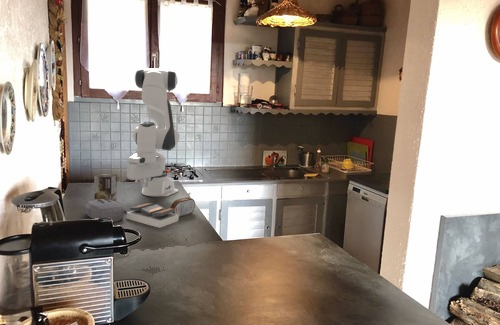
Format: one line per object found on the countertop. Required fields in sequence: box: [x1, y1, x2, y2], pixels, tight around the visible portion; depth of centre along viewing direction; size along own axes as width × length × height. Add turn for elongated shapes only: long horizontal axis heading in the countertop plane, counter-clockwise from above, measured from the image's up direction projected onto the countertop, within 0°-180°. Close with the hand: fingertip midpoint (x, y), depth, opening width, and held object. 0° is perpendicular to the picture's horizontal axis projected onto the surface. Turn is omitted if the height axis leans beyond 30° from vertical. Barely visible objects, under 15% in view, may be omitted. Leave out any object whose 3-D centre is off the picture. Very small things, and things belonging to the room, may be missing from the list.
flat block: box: [152, 208, 175, 216], centre depth 186 cm, size 10×5×2 cm, turn 151°
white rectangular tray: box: [123, 209, 180, 229], centre depth 192 cm, size 13×28×3 cm, turn 61°
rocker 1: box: [129, 202, 154, 211], centre depth 192 cm, size 10×5×2 cm, turn 151°
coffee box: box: [93, 173, 118, 202], centre depth 205 cm, size 9×6×16 cm
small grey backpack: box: [84, 198, 125, 223], centre depth 188 cm, size 15×8×20 cm
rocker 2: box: [141, 203, 165, 215], centre depth 189 cm, size 10×5×2 cm, turn 151°
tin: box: [169, 196, 196, 218], centre depth 200 cm, size 15×3×8 cm, turn 145°
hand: (145, 187), depth 190 cm, fingers closed
